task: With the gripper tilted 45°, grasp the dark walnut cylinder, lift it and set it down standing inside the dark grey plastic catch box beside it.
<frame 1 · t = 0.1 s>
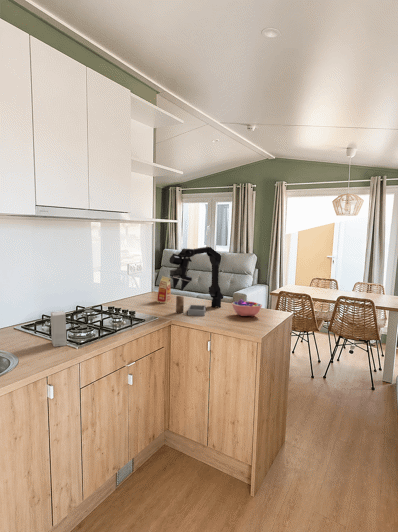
hand: (177, 289, 229), 15 cm above the worktop, tool pointing down, fingers open, 9 cm apart
walnut cylinder: (179, 312, 228), on the worktop
milk carton: (164, 301, 261), on the worktop
cell model: (246, 316, 226), on the worktop
catch box: (196, 312, 230), on the worktop
skincare box: (58, 344, 160), on the worktop
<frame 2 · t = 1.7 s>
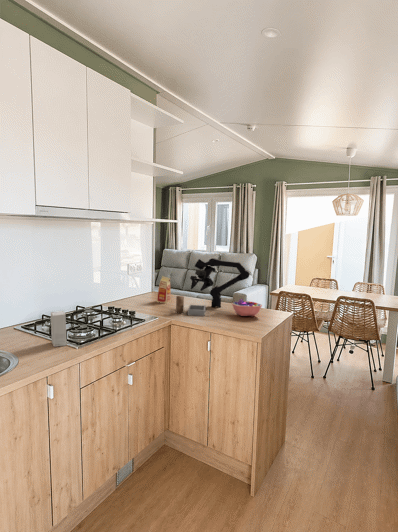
hand: (195, 289, 241), 13 cm above the worktop, tool tilted 45°, fingers open, 9 cm apart
nothing on the worktop moved.
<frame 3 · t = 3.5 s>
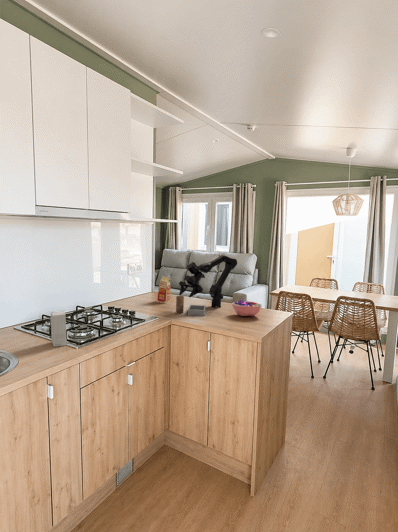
hand: (184, 296, 230), 11 cm above the worktop, tool tilted 45°, fingers open, 9 cm apart
nothing on the worktop moved.
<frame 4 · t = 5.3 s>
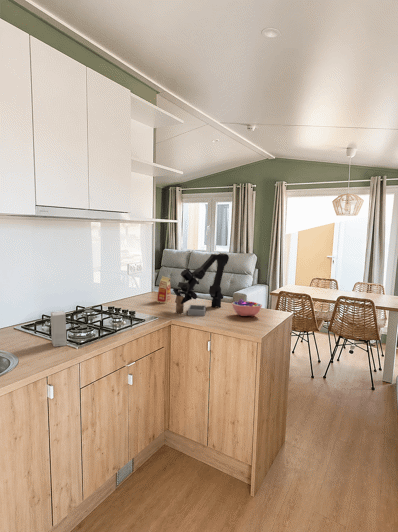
hand: (178, 303, 226), 7 cm above the worktop, tool tilted 45°, fingers closed on walnut cylinder, 5 cm apart
walnut cylinder: (179, 312, 228), on the worktop, touching gripper
everything else where it was.
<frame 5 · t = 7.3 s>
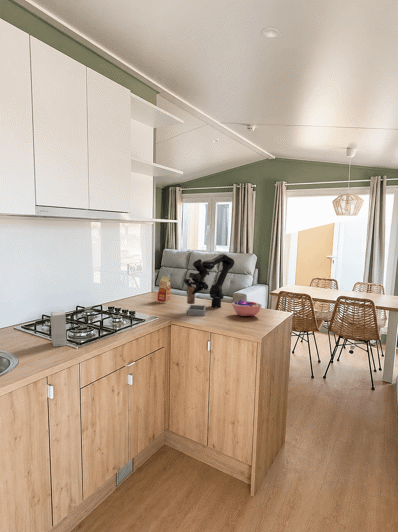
hand: (189, 293, 227), 13 cm above the worktop, tool tilted 45°, fingers closed on walnut cylinder, 5 cm apart
walnut cylinder: (190, 303, 229), point 6 cm above the worktop, touching gripper
everything else where it was.
when the fingers open (8 cm above the worktop, at t = 9.2 s): walnut cylinder stays where it is, resting on catch box.
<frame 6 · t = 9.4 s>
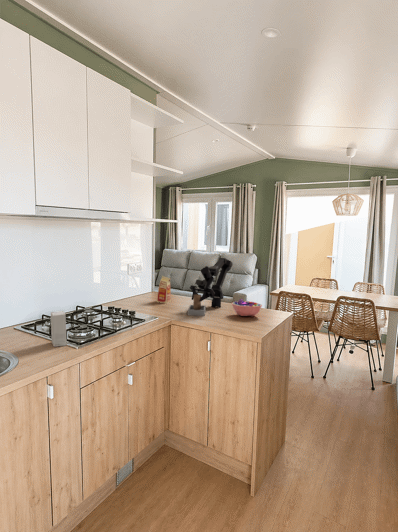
hand: (195, 300, 228), 9 cm above the worktop, tool tilted 45°, fingers open, 7 cm apart
walnut cylinder: (196, 311, 229), point 1 cm above the worktop, touching catch box
everything else where it was.
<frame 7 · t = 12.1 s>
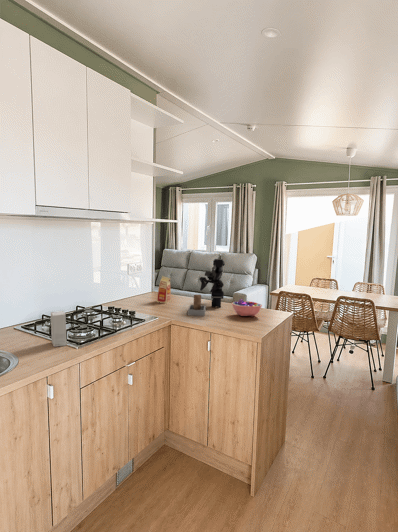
hand: (205, 291, 235), 14 cm above the worktop, tool tilted 45°, fingers open, 9 cm apart
nothing on the worktop moved.
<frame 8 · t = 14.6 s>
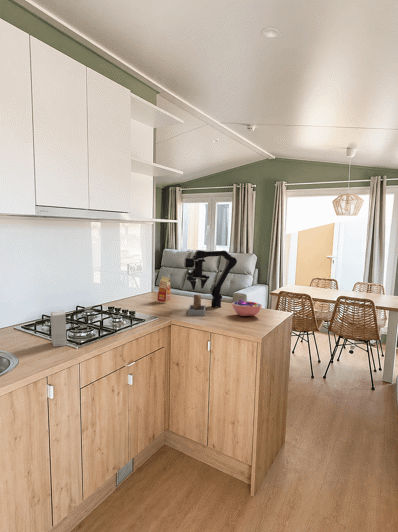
hand: (197, 289, 246), 13 cm above the worktop, tool pointing down, fingers open, 9 cm apart
nothing on the worktop moved.
at the end: walnut cylinder inside the target area on the catch box (0.0 cm from its centre), point 1.0 cm above the catch box's base; walnut cylinder tilted 0°; the gripper is holding nothing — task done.
